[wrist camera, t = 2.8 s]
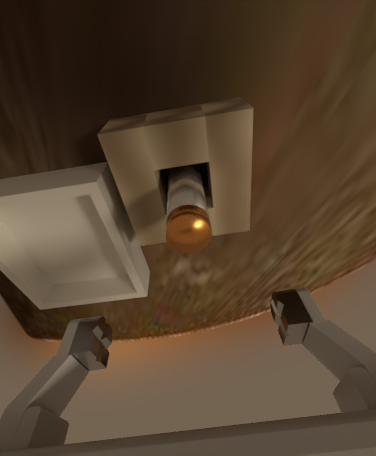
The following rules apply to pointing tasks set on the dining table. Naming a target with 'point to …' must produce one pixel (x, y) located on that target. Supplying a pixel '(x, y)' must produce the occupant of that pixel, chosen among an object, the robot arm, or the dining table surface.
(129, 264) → the tray
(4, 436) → the robot arm
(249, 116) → the block
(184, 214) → the pin
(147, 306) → the dining table surface
